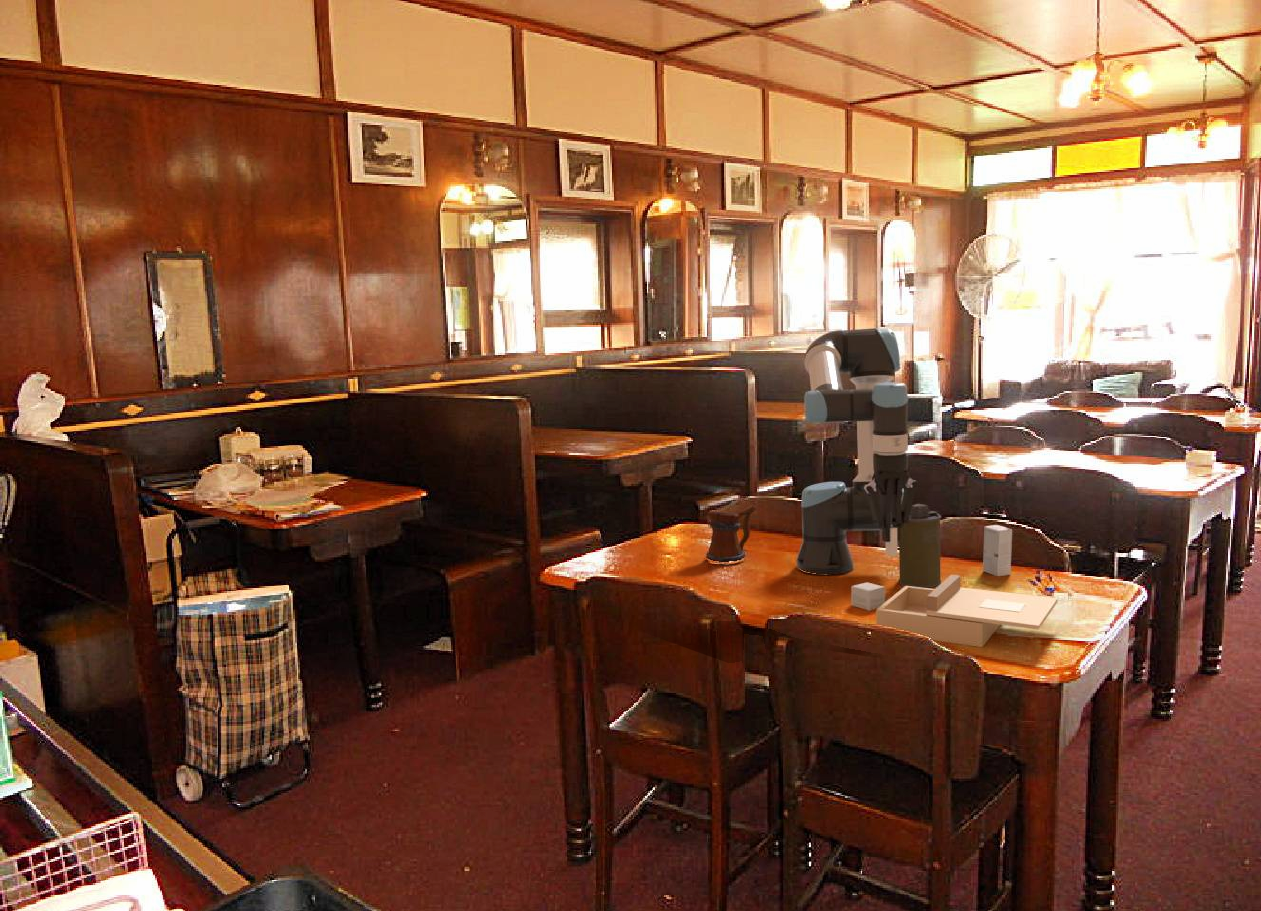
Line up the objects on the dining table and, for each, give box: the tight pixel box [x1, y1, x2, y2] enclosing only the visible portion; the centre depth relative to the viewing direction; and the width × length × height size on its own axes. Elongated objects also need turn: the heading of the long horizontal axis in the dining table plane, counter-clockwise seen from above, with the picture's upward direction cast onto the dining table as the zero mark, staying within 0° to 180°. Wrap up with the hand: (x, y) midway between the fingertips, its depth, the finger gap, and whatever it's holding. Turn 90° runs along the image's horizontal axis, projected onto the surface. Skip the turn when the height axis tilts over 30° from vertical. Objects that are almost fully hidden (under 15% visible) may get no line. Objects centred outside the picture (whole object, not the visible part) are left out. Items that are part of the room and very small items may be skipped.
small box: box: [851, 582, 886, 612], centre depth 220 cm, size 6×6×5 cm
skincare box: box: [982, 524, 1013, 577], centre depth 241 cm, size 6×4×12 cm
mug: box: [705, 504, 757, 562], centre depth 269 cm, size 18×12×15 cm, turn 128°
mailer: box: [875, 586, 1001, 648], centre depth 203 cm, size 22×20×5 cm
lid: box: [926, 574, 1059, 630], centre depth 197 cm, size 22×20×4 cm
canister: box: [898, 503, 942, 589], centre depth 235 cm, size 11×10×20 cm
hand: (891, 554), depth 211 cm, fingers closed
